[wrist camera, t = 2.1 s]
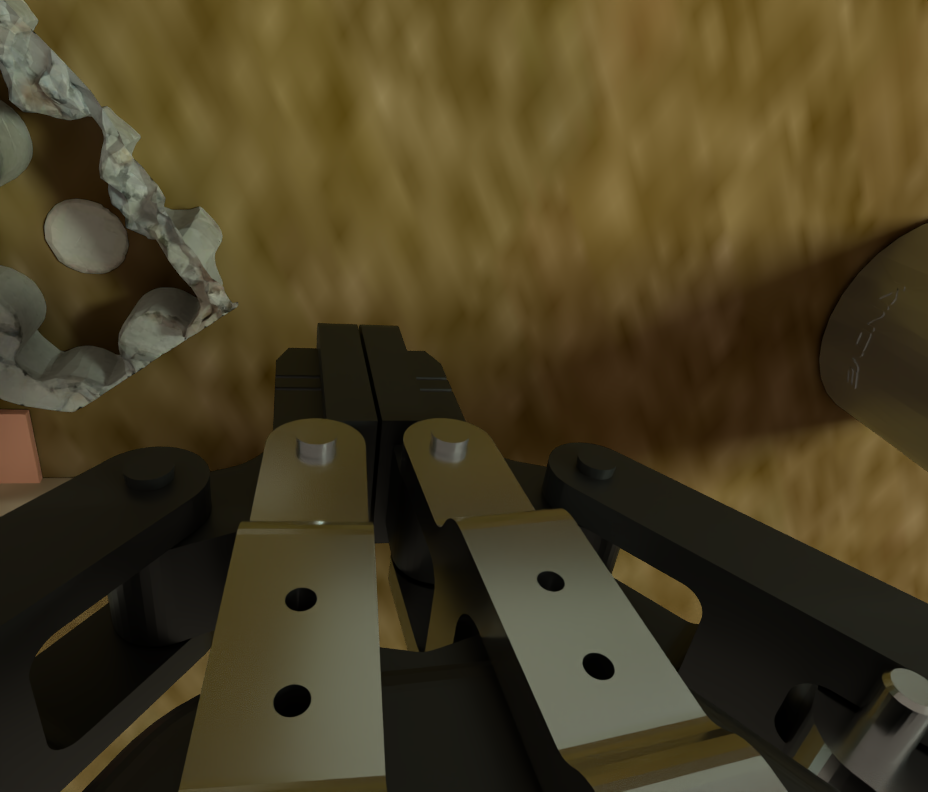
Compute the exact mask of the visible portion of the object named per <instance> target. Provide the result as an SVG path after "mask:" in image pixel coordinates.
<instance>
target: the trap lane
mask: <svg viewBox="0 0 928 792" xmlns="http://www.w3.org/2000/svg"><path fill="white" fill-rule="evenodd" d="M70 479H72V478H43V477H42V472H41V467H40V462H39V457H38V452H37V447H36V443H35V438H34V433H33V428H32V423H31V418H30V413H29V410H9V409H0V517H1V516H3V515H4V514H6V513H8V512H10V511H12V510H14V509H16V508H18V507H20V506H21V505H23V504H25V503H27V502H29V501H31V500H33V499H35V498H37V497H38V496H40V495H42V494H44V493H46V492H48V491H50V490H52V489H53V488H55V487H57V486H59V485H61V484H63V483H65V482H67V481H69V480H70Z"/></svg>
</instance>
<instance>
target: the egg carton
mask: <svg viewBox="0 0 928 792" xmlns="http://www.w3.org/2000/svg"><path fill="white" fill-rule="evenodd" d="M37 23H38V19H37V18H36V16H35V15H34V14H33V13H32V11H31V10H30V8H29V7H28V5H27V4H26V2H24V1H23V0H0V70H1V72H2V75H3V78H4V80H5V82H6V85H7V87H8V91H9V100H10V101H11V102H12V103H13V104H15V105H16V106H17V107H18V108H20V109H21V110H22V111H23V112H31V113H41V114H45V115H49V116H52V117H55V118H59V119H65V120H74V119H80V118H83V117H86V116H90V117H93V118H94V119H95V121H96V122H97V123H98V125H99V126H100V128H101V129H102V131H103V135H104V142H103V146H102V150H101V157H100V164H99V172H100V178H101V179H103V180H104V181H105V182H107V183H108V184H109V185H108V192H109V195H110V199H111V203H112V205H114V206H115V207H116V208H118V209H119V210H120V211H121V213H122V214H123V215H124V216H125V224H126V228H128V229H130V230H132V231H135V232H137V233H139V234H142V235H144V236H147V238H148V239H155V240H157V242H158V243H159V245H160V247H161V248H162V250H163V252H164V254H165V255H166V257H167V259H168V261H169V262H170V263H171V265H172V266H173V267H174V268H175V270H176V271H177V272H178V274H179V275H180V276H181V277H182V278H183V279H184V280H185V281H186V283H187V284H188V285H189V286H190V287H191V288H192V289H193V291H194V292H195V294H196V296H197V298H196V297H194V296H192V295H191V294H189V293H187V292H185V291H183V290H180V289H177V288H167V287H166V288H163V287H162V288H157V289H154V290H151V291H149V292H148V293H146V294H145V295H143V296H142V297H141V299H140V300H139V301H138V303H137V304H136V306H135V307H134V309H133V310H132V312H131V313H130V315H129V316H128V318H127V319H126V321H125V322H124V324H123V326H122V328H121V330H120V332H119V339H118V345H119V351H120V355H116V354H114V353H113V352H110V351H108V350H106V349H103V348H99V347H95V346H80V347H75V348H73V349H71V350H69V351H66V352H63V351H60V350H59V349H57V348H56V347H55V346H54V345H53V344H51V343H50V342H49V341H48V340H46V339H45V338H44V337H43V336H42V335H41V334H40V333H39V332H38V330H37V329H38V328H39V327H40V325H41V324H42V322H43V321H44V319H45V315H46V303H45V299H44V297H43V295H42V293H41V291H40V289H39V288H38V286H37V285H36V284H35V283H34V282H33V281H32V280H31V279H29V278H28V277H27V276H26V275H24V274H22V273H20V272H18V271H16V270H14V269H12V268H9V267H5V266H1V265H0V398H1V399H3V400H5V401H8V402H12V403H15V404H18V405H22V406H29V407H35V408H42V409H48V410H55V411H64V412H73V411H76V410H78V409H80V408H82V407H84V406H86V405H87V404H89V403H90V402H92V401H94V400H95V399H97V398H98V397H100V396H101V395H102V394H104V393H105V392H107V391H108V390H110V389H111V388H113V387H114V386H116V385H117V384H119V383H121V382H122V381H124V380H125V379H127V378H128V377H130V376H131V375H133V374H135V373H136V372H138V371H139V370H141V369H142V368H144V367H145V366H146V365H148V364H149V363H150V362H152V361H153V360H155V359H157V358H158V357H160V356H161V355H162V354H164V353H166V352H168V351H169V350H171V349H172V348H174V347H176V346H177V345H179V344H180V343H182V342H183V341H185V340H186V339H188V338H189V337H191V336H193V335H195V334H196V333H198V332H199V331H201V330H202V329H204V328H205V327H207V326H208V325H210V324H212V323H213V322H215V321H216V320H217V319H219V318H220V317H222V316H224V315H225V314H227V313H228V312H230V311H232V310H233V309H235V308H236V307H237V306H238V302H236V303H232V302H231V301H230V300H229V299H228V297H227V295H226V293H225V291H224V287H223V286H222V285H223V281H222V279H221V277H220V275H219V272H218V270H217V267H216V264H215V252H216V250H217V249H218V247H219V245H220V243H221V241H222V233H221V230H220V228H219V226H218V225H217V223H216V222H215V221H214V219H212V218H211V216H210V215H209V214H208V213H207V212H206V211H205V210H204V209H203V208H201V207H197V208H194V209H190V210H171V209H169V208H166V207H164V203H165V197H164V195H163V193H162V192H161V190H160V188H159V187H158V185H157V184H156V183H155V182H154V181H153V180H152V179H151V178H150V176H149V175H148V174H147V173H146V171H145V170H144V169H143V167H142V166H141V165H140V164H139V163H138V162H137V161H136V160H135V159H133V157H132V152H133V150H134V147H135V145H136V143H137V142H138V141H139V139H140V138H141V137H140V135H139V134H138V133H137V132H136V131H135V130H134V129H133V128H132V127H131V126H130V125H128V124H127V123H126V122H125V121H123V120H122V119H121V118H120V117H119V116H117V115H116V114H115V113H114V112H113V111H112V110H111V108H109V107H108V106H104V107H101V106H100V104H99V103H98V101H97V100H96V98H95V97H94V95H93V94H92V92H91V91H90V90H89V89H88V88H87V87H86V86H85V84H84V83H83V82H82V81H81V80H80V79H79V78H78V77H77V76H76V75H75V74H74V73H73V72H72V70H71V69H70V68H69V67H68V66H67V65H66V64H65V63H64V62H63V61H62V60H61V59H60V58H59V57H58V56H57V55H56V54H55V53H54V52H53V51H52V50H51V49H50V48H49V47H48V46H47V44H46V43H45V42H44V41H43V40H42V39H41V38H40V37H39V36H38V35H37V34H36V33H35V32H34V31H33V30H34V28H35V26H36V25H37ZM32 155H33V146H32V140H31V137H30V134H29V132H28V129H27V127H26V125H25V123H24V121H23V120H22V119H21V117H20V116H19V115H18V114H17V113H16V112H15V111H14V109H13V108H12V107H10V106H9V105H7V104H6V103H4V102H3V101H2V100H0V186H2V185H4V184H6V183H8V182H9V181H11V180H13V179H15V178H17V177H18V176H19V175H20V174H21V173H22V172H23V171H24V170H25V169H26V168H27V167H28V165H29V163H30V161H31V159H32ZM44 232H45V239H46V241H47V243H48V244H49V246H50V247H51V249H52V251H53V252H54V254H55V255H56V257H57V258H58V260H59V261H60V262H62V263H63V264H64V265H66V266H67V267H69V268H72V269H74V270H77V271H79V272H82V273H91V274H103V273H107V272H110V271H111V270H113V269H115V268H117V267H118V266H119V265H120V264H121V263H122V262H123V261H124V260H125V255H126V253H127V250H128V247H129V242H128V237H127V231H126V229H125V228H124V226H123V224H122V223H121V221H120V220H119V218H118V217H117V216H116V215H114V214H113V213H111V212H110V211H109V209H108V208H104V207H103V205H101V204H99V203H96V202H93V201H89V200H83V199H70V200H65V201H62V202H60V203H58V204H56V205H55V206H54V207H53V208H52V210H51V211H50V212H49V213H48V215H47V218H46V221H45V225H44Z"/></svg>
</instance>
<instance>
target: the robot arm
mask: <svg viewBox="0 0 928 792" xmlns="http://www.w3.org/2000/svg"><path fill="white" fill-rule="evenodd" d="M819 363H820V374H821V380H822V382H823V385H824V387H825V390H826V393H827V394H828V395H829V396H830V397H831V399H832V400H833V401H834V402H835V404H836V405H838V406H839V407H840V408H842V409H843V410H845V411H846V412H847V413H849V414H850V415H851V416H853V417H854V418H856V419H857V420H858V421H860V422H861V423H862V424H864V425H865V426H866V427H868V428H869V429H871V430H872V431H873V432H875V433H876V434H877V435H879V436H880V437H882V438H883V439H884V440H886V441H887V442H888V443H890V444H891V445H892V446H894V447H895V448H897V449H898V450H899V451H901V452H902V453H903V454H904V455H905V456H907V457H908V458H909V459H911V460H912V461H913V462H915V463H916V464H918V465H919V466H920V467H922V468H923V469H924V470H926V471H927V472H928V223H926V224H923V225H921V226H920V227H918V228H916V229H914V230H912V231H910V232H909V233H907V234H905V235H903V236H901V237H899V238H898V239H897V240H896V241H894V242H893V243H892V244H890V245H889V246H888V247H886V248H885V249H884V250H882V251H881V252H880V253H878V254H877V255H876V256H875V257H874V258H873V259H872V260H871V261H870V262H869V263H868V264H867V265H866V266H865V267H864V268H863V269H862V270H861V271H860V272H859V273H858V275H857V276H856V277H855V279H854V280H853V281H852V283H851V284H850V285H849V287H848V288H847V289H846V291H845V292H844V293H843V295H842V296H841V298H840V300H839V302H838V304H837V305H836V307H835V309H834V311H833V313H832V315H831V316H830V319H829V321H828V324H827V327H826V330H825V333H824V336H823V339H822V344H821V351H820V358H819ZM446 378H447V377H446V375H445V373H444V370H443V368H442V366H441V364H440V363H439V362H438V361H437V360H435V359H434V358H433V357H431V356H430V355H429V354H428V353H426V352H425V351H407V350H406V347H405V344H404V341H403V338H402V335H401V332H400V330H399V327H398V326H384V325H359V329H358V326H357V325H353V324H325V323H318V327H317V349H313V348H288V349H287V350H286V351H285V352H284V353H283V354H282V355H281V356H280V357H279V358H278V359H277V360H276V379H275V400H274V422H273V431H272V432H271V433H270V435H269V436H268V437H267V440H266V443H265V448H264V452H263V453H262V454H260V455H259V456H257V457H256V458H254V459H252V460H250V461H248V462H246V463H243V464H240V465H238V466H234V467H230V468H226V469H221V470H217V471H212V472H210V471H209V467H208V465H207V463H206V462H205V461H204V460H203V459H202V458H201V457H200V456H198V455H197V454H195V453H193V452H190V451H187V450H184V449H179V448H173V447H147V448H141V449H136V450H132V451H128V452H125V453H122V454H119V455H117V456H114V457H112V458H110V459H108V460H106V461H104V462H103V463H101V464H99V465H97V466H95V467H93V468H91V469H89V470H87V471H86V472H84V473H82V474H80V475H78V476H76V477H74V478H72V479H70V480H69V481H67V482H65V483H63V484H61V485H59V486H57V487H55V488H53V489H52V490H50V491H48V492H46V493H44V494H42V495H40V496H38V497H37V498H35V499H33V500H31V501H29V502H27V503H25V504H23V505H21V506H20V507H18V508H16V509H14V510H12V511H10V512H8V513H6V514H4V515H3V516H1V517H0V792H60V791H61V790H62V789H64V788H65V787H66V786H67V785H68V784H69V783H70V782H71V781H72V780H73V779H74V778H75V777H76V776H77V775H78V774H79V773H80V772H81V771H82V770H84V769H85V768H86V767H87V766H88V765H89V764H90V763H91V762H92V761H93V760H94V759H95V758H96V757H97V756H98V755H99V754H100V753H101V752H102V751H104V750H105V749H106V748H107V747H108V746H109V745H110V744H111V743H112V742H113V741H114V740H115V739H116V738H117V737H118V736H119V735H120V734H121V733H122V732H124V731H125V730H126V729H127V728H128V727H129V726H130V725H131V724H132V723H133V722H134V721H135V720H136V719H137V718H138V717H139V716H140V715H141V714H143V713H144V712H145V711H146V710H147V709H148V708H149V707H150V706H151V705H152V704H153V703H154V702H155V701H156V700H157V699H158V698H159V697H160V696H161V695H163V694H164V693H165V692H166V691H167V690H168V689H169V688H170V687H171V686H172V685H173V684H174V683H175V682H176V681H177V680H178V679H179V678H180V677H181V676H183V675H184V674H185V673H186V672H187V671H188V670H189V669H190V668H191V667H192V666H193V665H194V664H195V663H196V662H197V661H198V660H199V659H200V658H201V657H203V656H204V655H205V654H206V653H207V651H208V650H209V649H210V648H211V650H210V654H209V659H208V663H207V668H206V672H205V677H204V681H203V685H202V690H201V694H200V695H197V696H196V697H194V698H192V699H190V700H188V701H187V702H185V703H183V704H181V705H179V706H178V707H176V708H174V709H173V710H172V711H170V712H169V713H167V714H166V715H164V716H163V717H161V718H160V719H158V720H157V721H156V722H154V723H153V724H152V725H150V726H149V727H148V728H147V729H146V730H144V731H143V732H142V733H141V734H140V735H138V736H137V737H136V738H135V739H134V740H132V741H131V742H130V743H129V744H128V745H127V746H126V747H125V748H124V749H123V750H122V751H121V752H120V753H119V754H118V755H117V756H116V757H115V758H114V759H113V760H112V761H111V762H110V763H109V764H108V765H107V766H106V767H105V769H104V770H103V771H102V772H101V773H100V774H99V775H98V776H97V777H96V778H95V779H94V780H93V781H92V782H91V783H90V784H89V785H88V786H87V787H86V788H85V789H84V790H83V791H82V792H928V604H927V603H925V602H923V601H921V600H919V599H917V598H915V597H913V596H911V595H909V594H907V593H905V592H903V591H901V590H899V589H897V588H895V587H893V586H891V585H888V584H886V583H884V582H882V581H880V580H878V579H876V578H874V577H872V576H870V575H868V574H866V573H864V572H862V571H860V570H858V569H856V568H854V567H852V566H849V565H847V564H845V563H843V562H841V561H839V560H837V559H835V558H833V557H831V556H829V555H827V554H825V553H823V552H821V551H819V550H817V549H815V548H813V547H811V546H808V545H806V544H804V543H802V542H800V541H798V540H796V539H794V538H792V537H790V536H788V535H786V534H784V533H782V532H780V531H778V530H776V529H774V528H772V527H770V526H767V525H765V524H763V523H761V522H759V521H757V520H755V519H753V518H751V517H749V516H747V515H745V514H743V513H741V512H739V511H737V510H735V509H733V508H731V507H728V506H726V505H724V504H722V503H720V502H718V501H716V500H714V499H712V498H710V497H708V496H706V495H704V494H702V493H700V492H698V491H696V490H694V489H692V488H690V487H687V486H685V485H683V484H681V483H679V482H677V481H675V480H673V479H671V478H669V477H667V476H665V475H663V474H661V473H659V472H657V471H655V470H653V469H651V468H648V467H646V466H644V465H642V464H640V463H638V462H636V461H634V460H632V459H630V458H628V457H626V456H624V455H622V454H620V453H618V452H616V451H613V450H611V449H609V448H606V447H603V446H599V445H595V444H589V443H569V444H564V445H561V446H559V447H557V448H555V449H554V450H553V451H552V452H551V454H550V456H549V460H548V464H547V467H544V466H539V465H533V464H528V463H522V462H517V461H513V460H509V459H506V458H503V456H502V455H501V453H500V451H499V450H498V448H497V447H496V445H495V443H494V442H493V440H492V439H491V437H490V436H489V435H488V434H487V433H486V432H485V431H483V430H482V429H480V428H479V427H477V426H475V425H472V424H470V423H467V422H466V421H465V419H464V417H463V414H462V412H461V410H460V407H459V405H458V403H457V400H456V398H455V396H454V394H453V392H451V387H450V384H449V382H448V380H446ZM375 543H389V545H390V550H391V557H390V566H389V576H388V579H389V585H390V588H391V592H392V596H393V599H394V603H395V606H396V610H397V614H398V617H399V621H400V625H401V628H402V632H403V635H404V639H405V643H406V646H407V650H408V651H406V650H397V649H389V648H381V647H379V628H378V607H377V585H376V564H375ZM620 548H621V549H623V550H625V551H626V552H628V553H630V554H632V555H633V556H635V557H637V558H639V559H640V560H642V561H644V562H646V563H647V564H649V565H651V566H653V567H654V568H656V569H658V570H660V571H661V572H663V573H665V574H667V575H668V576H670V577H672V578H674V579H675V580H677V581H679V582H681V583H683V584H684V585H686V586H687V587H688V588H690V589H691V590H692V591H693V592H694V593H695V595H696V596H697V597H698V599H699V601H700V603H701V606H702V618H701V621H700V623H699V624H693V623H690V622H687V621H685V620H683V619H682V618H680V617H678V616H677V615H675V614H673V613H672V612H670V611H668V610H667V609H665V608H663V607H662V606H660V605H658V604H657V603H655V602H653V601H652V600H650V599H648V598H647V597H645V596H643V595H642V594H640V593H638V592H637V591H635V590H633V589H632V588H630V587H628V586H627V585H625V584H623V583H622V582H620V581H618V580H617V579H615V578H613V576H612V575H611V574H612V571H613V568H614V565H615V562H616V559H617V556H618V553H619V550H620ZM106 595H108V601H109V603H108V604H106V605H105V606H104V607H102V608H101V609H100V610H98V611H97V612H96V613H94V614H93V615H91V616H90V617H89V618H87V619H86V620H85V621H83V622H82V623H81V624H79V625H78V626H77V627H75V628H74V629H73V630H71V631H70V632H69V633H67V634H66V635H64V636H63V637H62V638H60V639H59V640H58V641H56V642H55V643H54V644H52V645H51V646H50V647H48V648H47V649H46V650H44V651H43V652H41V653H40V654H39V655H37V656H36V654H37V653H38V651H39V650H40V648H41V647H42V646H43V644H44V643H45V642H46V641H47V640H48V639H49V638H50V637H51V636H52V635H53V634H54V633H56V632H57V631H58V630H60V629H61V628H62V627H64V626H65V625H66V624H68V623H69V622H71V621H72V620H73V619H75V618H76V617H77V616H79V615H80V614H82V613H83V612H84V611H86V610H87V609H88V608H90V607H91V606H93V605H94V604H95V603H97V602H98V601H99V600H101V599H102V598H104V597H105V596H106ZM35 656H36V657H35Z"/></svg>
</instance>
